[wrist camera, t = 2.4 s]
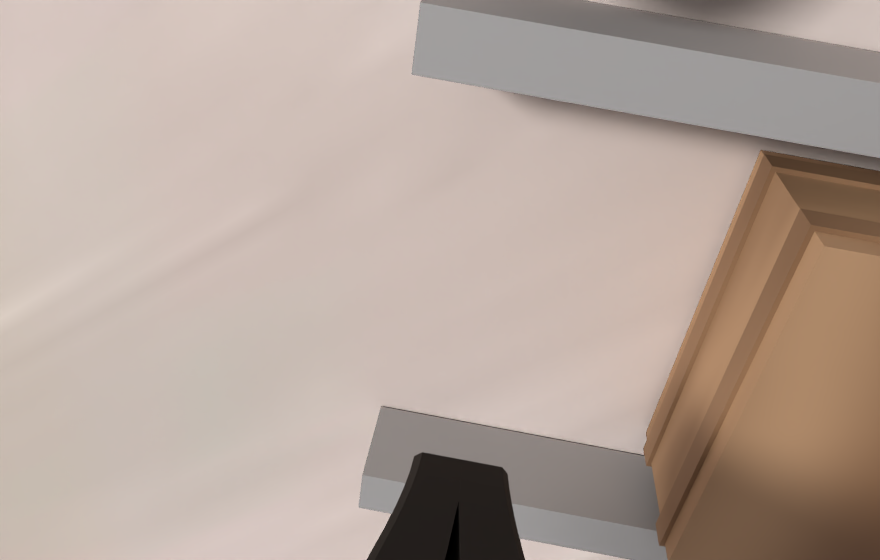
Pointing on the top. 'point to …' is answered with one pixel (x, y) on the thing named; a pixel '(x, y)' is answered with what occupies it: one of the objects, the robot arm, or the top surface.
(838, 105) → the bay
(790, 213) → the tan cardboard box
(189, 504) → the top surface
